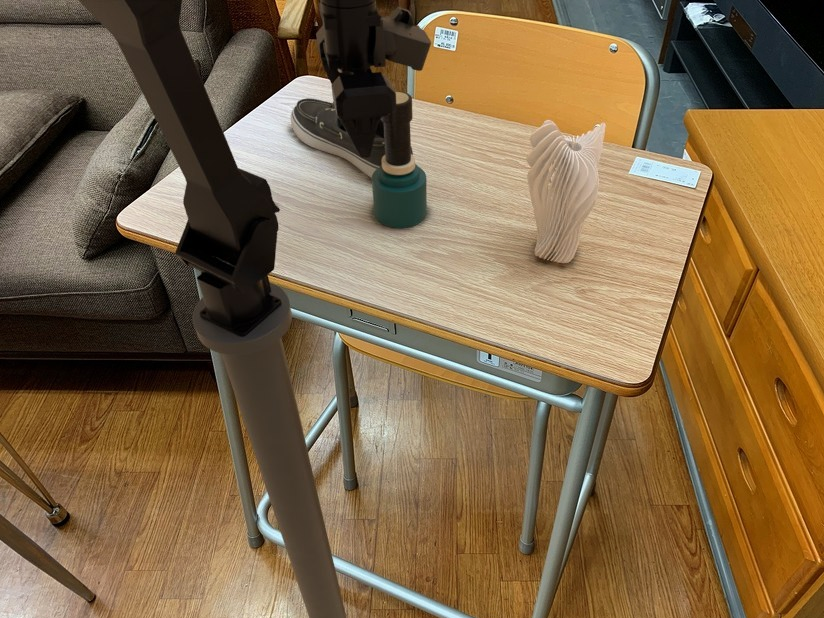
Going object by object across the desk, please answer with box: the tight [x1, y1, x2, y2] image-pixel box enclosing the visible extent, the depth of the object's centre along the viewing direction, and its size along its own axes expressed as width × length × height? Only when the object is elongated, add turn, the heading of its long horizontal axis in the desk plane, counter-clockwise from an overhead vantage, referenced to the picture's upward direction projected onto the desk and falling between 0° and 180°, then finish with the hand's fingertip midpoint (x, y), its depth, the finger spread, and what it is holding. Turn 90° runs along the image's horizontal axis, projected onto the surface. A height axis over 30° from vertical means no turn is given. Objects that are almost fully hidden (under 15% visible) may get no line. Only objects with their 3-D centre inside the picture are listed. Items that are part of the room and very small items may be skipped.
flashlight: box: [381, 90, 413, 166], centre depth 80 cm, size 4×4×8 cm
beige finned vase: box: [526, 119, 607, 264], centre depth 77 cm, size 8×8×18 cm
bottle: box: [371, 154, 428, 229], centre depth 86 cm, size 7×7×8 cm
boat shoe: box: [290, 98, 417, 179], centre depth 97 cm, size 9×26×7 cm, turn 46°
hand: (359, 137), depth 79 cm, fingers open, 9 cm apart
